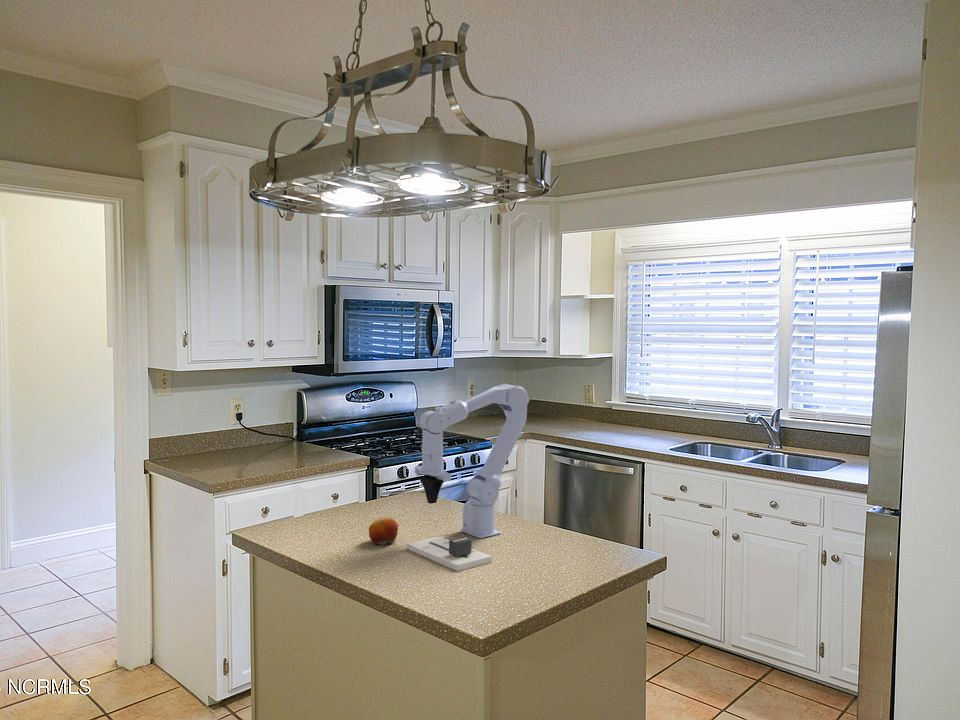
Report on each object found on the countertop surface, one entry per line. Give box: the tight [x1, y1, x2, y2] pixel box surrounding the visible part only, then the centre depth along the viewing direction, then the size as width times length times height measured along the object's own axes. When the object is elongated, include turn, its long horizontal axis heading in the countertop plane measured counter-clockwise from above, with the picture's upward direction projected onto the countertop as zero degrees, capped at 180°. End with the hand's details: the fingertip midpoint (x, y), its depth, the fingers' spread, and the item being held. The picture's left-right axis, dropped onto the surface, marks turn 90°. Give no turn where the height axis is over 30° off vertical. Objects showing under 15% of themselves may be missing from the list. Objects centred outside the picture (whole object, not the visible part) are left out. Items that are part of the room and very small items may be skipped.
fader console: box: [406, 536, 493, 572], centre depth 190 cm, size 22×11×2 cm, turn 40°
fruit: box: [368, 517, 399, 546], centre depth 201 cm, size 8×8×8 cm
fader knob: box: [448, 536, 472, 557], centre depth 186 cm, size 4×4×4 cm
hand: (432, 502), depth 204 cm, fingers closed
